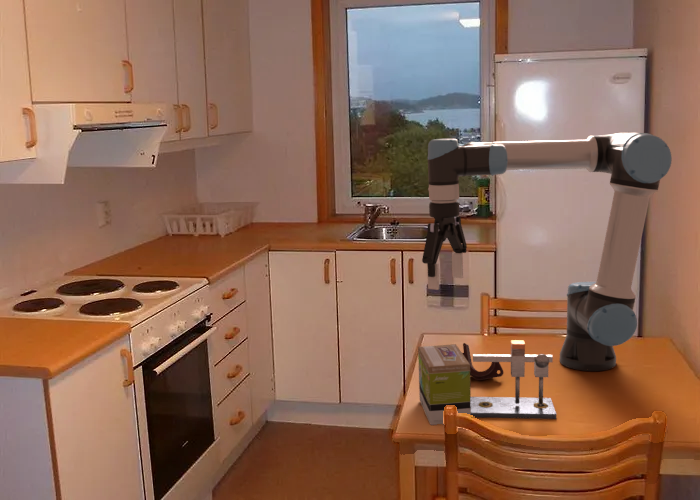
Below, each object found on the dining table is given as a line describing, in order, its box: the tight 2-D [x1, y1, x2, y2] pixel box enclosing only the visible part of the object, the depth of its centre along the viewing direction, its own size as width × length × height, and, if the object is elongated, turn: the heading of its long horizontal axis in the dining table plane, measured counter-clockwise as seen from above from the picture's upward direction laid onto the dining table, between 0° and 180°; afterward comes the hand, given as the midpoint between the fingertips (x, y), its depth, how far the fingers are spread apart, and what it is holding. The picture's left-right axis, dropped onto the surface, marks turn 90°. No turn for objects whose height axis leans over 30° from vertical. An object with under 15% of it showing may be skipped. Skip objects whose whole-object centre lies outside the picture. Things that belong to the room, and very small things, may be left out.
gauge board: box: [471, 396, 557, 420], centre depth 186 cm, size 20×10×1 cm, turn 83°
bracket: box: [462, 342, 505, 381], centre depth 208 cm, size 6×17×10 cm, turn 78°
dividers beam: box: [472, 353, 554, 404], centre depth 185 cm, size 18×3×13 cm, turn 83°
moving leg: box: [510, 339, 526, 404], centre depth 184 cm, size 3×3×15 cm
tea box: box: [417, 343, 472, 426], centre depth 185 cm, size 15×10×15 cm, turn 5°
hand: (446, 283), depth 198 cm, fingers open, 13 cm apart
